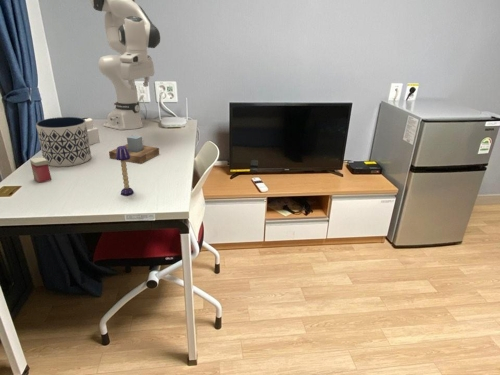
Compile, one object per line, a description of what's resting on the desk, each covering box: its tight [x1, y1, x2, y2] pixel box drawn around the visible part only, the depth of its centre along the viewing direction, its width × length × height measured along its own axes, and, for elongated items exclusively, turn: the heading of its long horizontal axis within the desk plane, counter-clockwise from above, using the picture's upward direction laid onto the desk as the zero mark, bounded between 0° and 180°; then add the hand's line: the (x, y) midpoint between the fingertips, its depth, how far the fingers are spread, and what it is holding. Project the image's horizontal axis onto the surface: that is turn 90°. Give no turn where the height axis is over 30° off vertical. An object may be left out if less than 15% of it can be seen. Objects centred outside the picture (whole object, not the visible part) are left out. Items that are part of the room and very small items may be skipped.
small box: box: [29, 156, 52, 183], centre depth 126 cm, size 5×4×8 cm
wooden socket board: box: [108, 143, 160, 165], centre depth 154 cm, size 16×14×3 cm
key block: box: [126, 134, 144, 153], centre depth 154 cm, size 5×5×8 cm
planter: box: [35, 116, 92, 168], centre depth 144 cm, size 18×18×16 cm
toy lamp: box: [115, 145, 135, 197], centre depth 117 cm, size 5×5×17 cm
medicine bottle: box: [81, 117, 100, 146], centre depth 167 cm, size 7×7×12 cm
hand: (139, 87), depth 161 cm, fingers open, 8 cm apart
